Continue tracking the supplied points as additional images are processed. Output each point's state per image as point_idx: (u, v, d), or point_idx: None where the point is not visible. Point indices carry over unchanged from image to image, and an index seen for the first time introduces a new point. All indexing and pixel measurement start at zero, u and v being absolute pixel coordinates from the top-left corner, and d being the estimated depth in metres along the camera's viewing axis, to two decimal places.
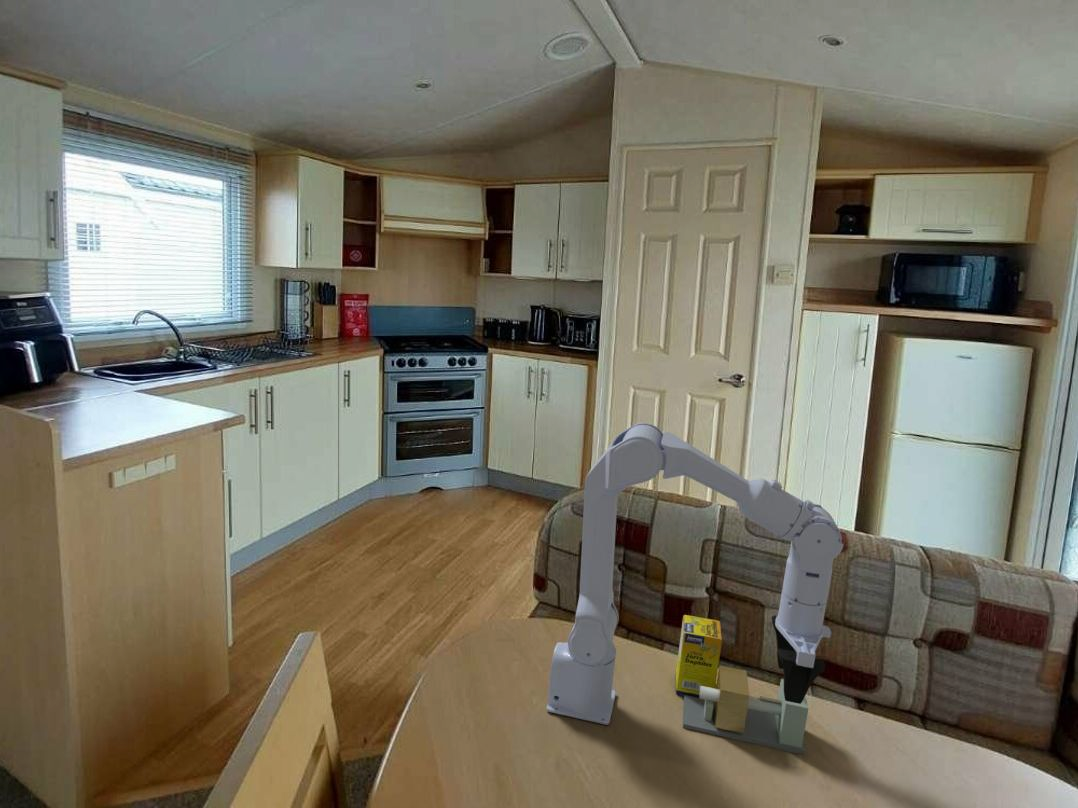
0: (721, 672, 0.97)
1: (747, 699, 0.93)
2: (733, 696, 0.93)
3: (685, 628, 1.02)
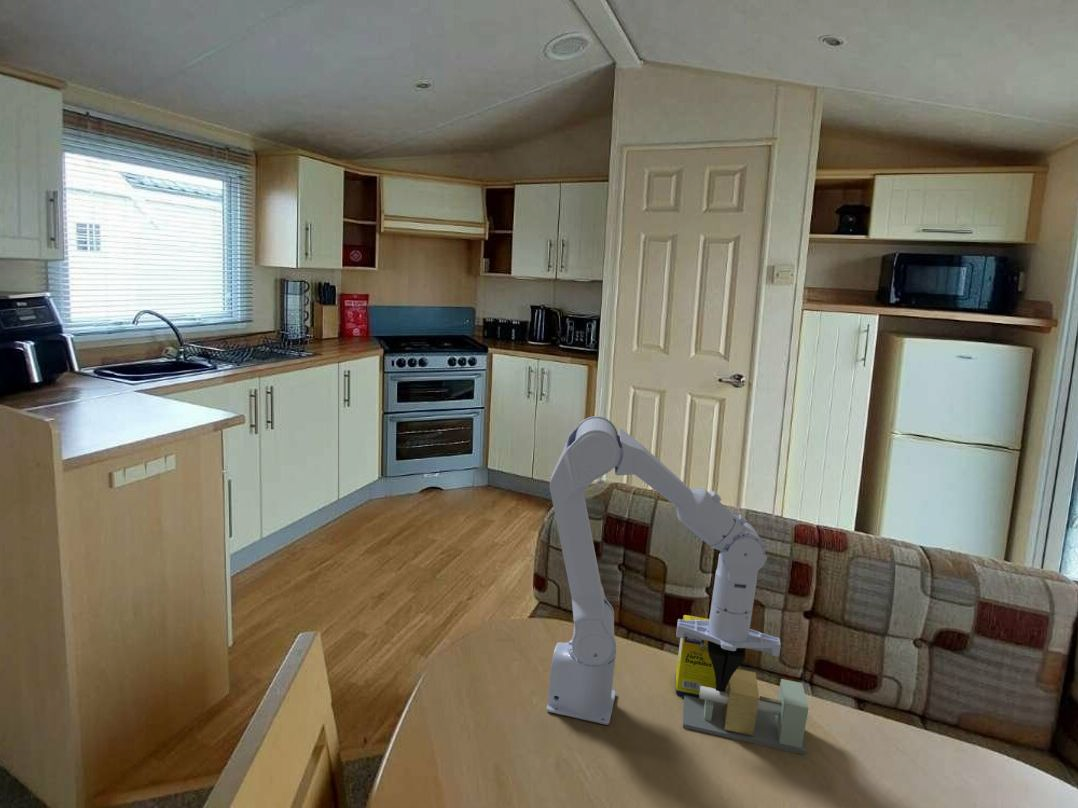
0: None
1: (757, 701, 0.92)
2: (743, 698, 0.93)
3: None
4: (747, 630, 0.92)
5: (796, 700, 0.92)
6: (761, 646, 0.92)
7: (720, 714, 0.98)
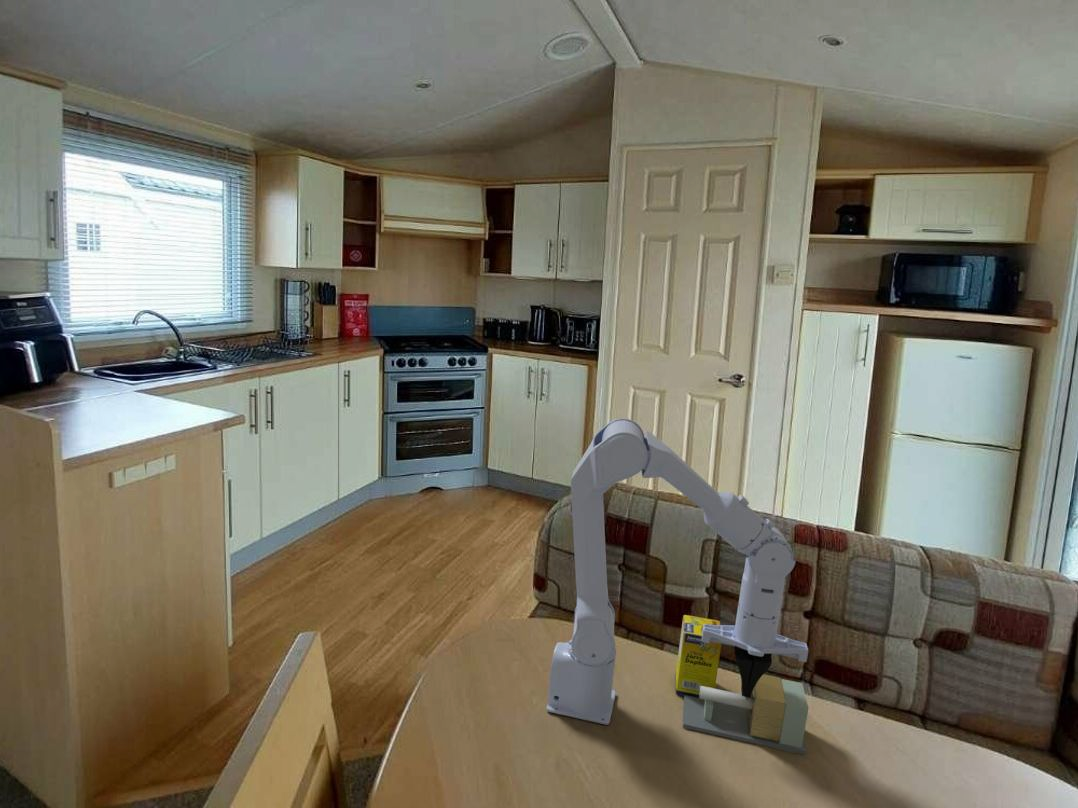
0: None
1: (783, 707, 0.92)
2: (769, 704, 0.92)
3: (685, 628, 1.02)
4: (774, 635, 0.92)
5: (796, 700, 0.92)
6: (788, 652, 0.91)
7: (720, 714, 0.98)
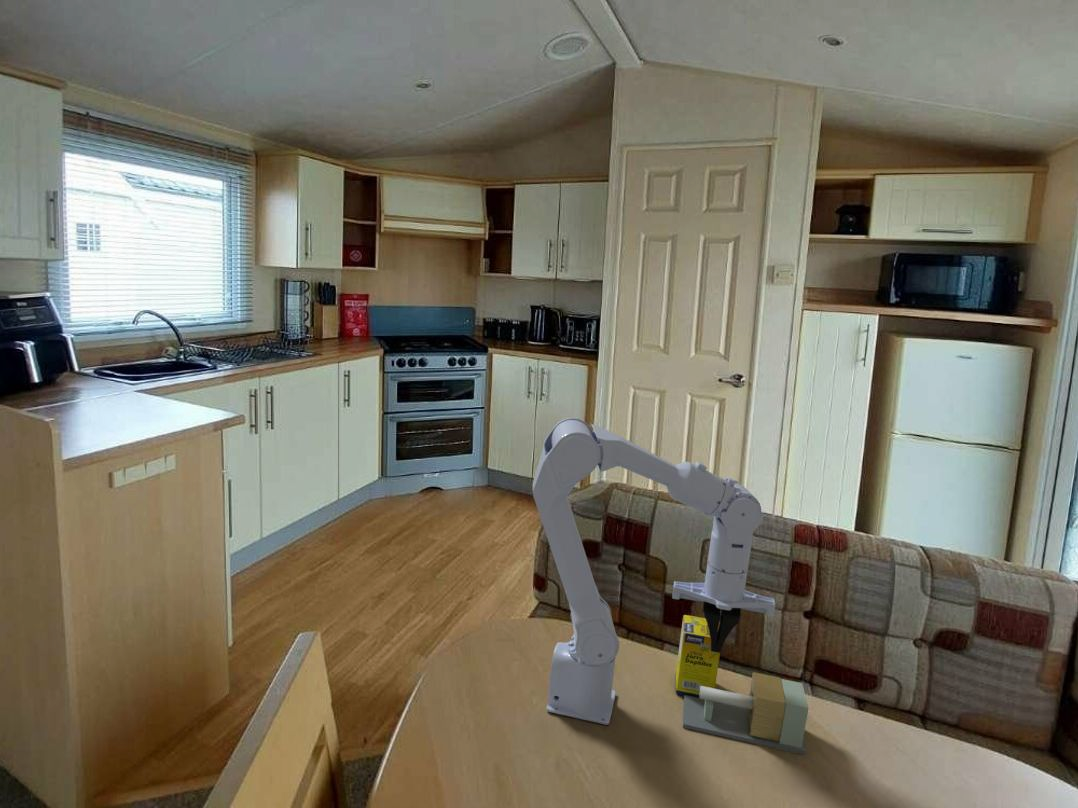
0: (755, 679, 0.96)
1: (783, 707, 0.92)
2: (769, 704, 0.92)
3: (685, 628, 1.02)
4: (742, 590, 0.94)
5: (796, 700, 0.92)
6: (756, 606, 0.93)
7: (720, 714, 0.98)
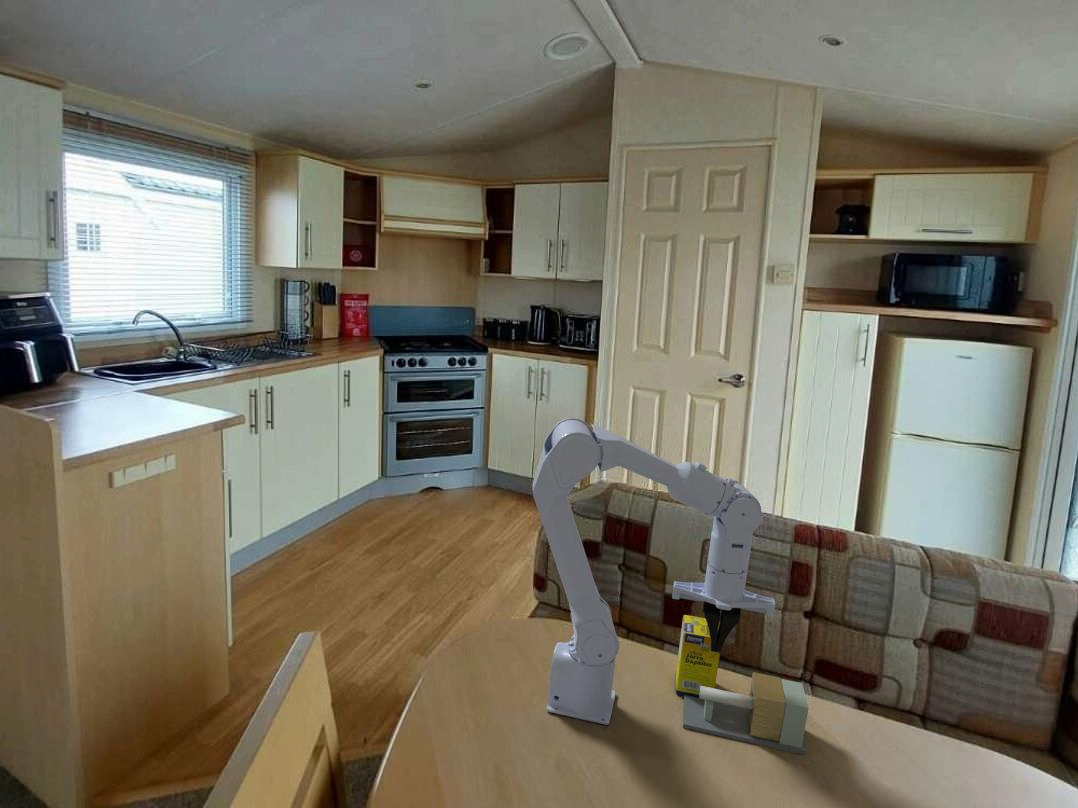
0: (755, 679, 0.96)
1: (783, 707, 0.92)
2: (769, 704, 0.92)
3: (685, 628, 1.02)
4: (742, 590, 0.94)
5: (796, 700, 0.92)
6: (756, 606, 0.93)
7: (720, 714, 0.98)
